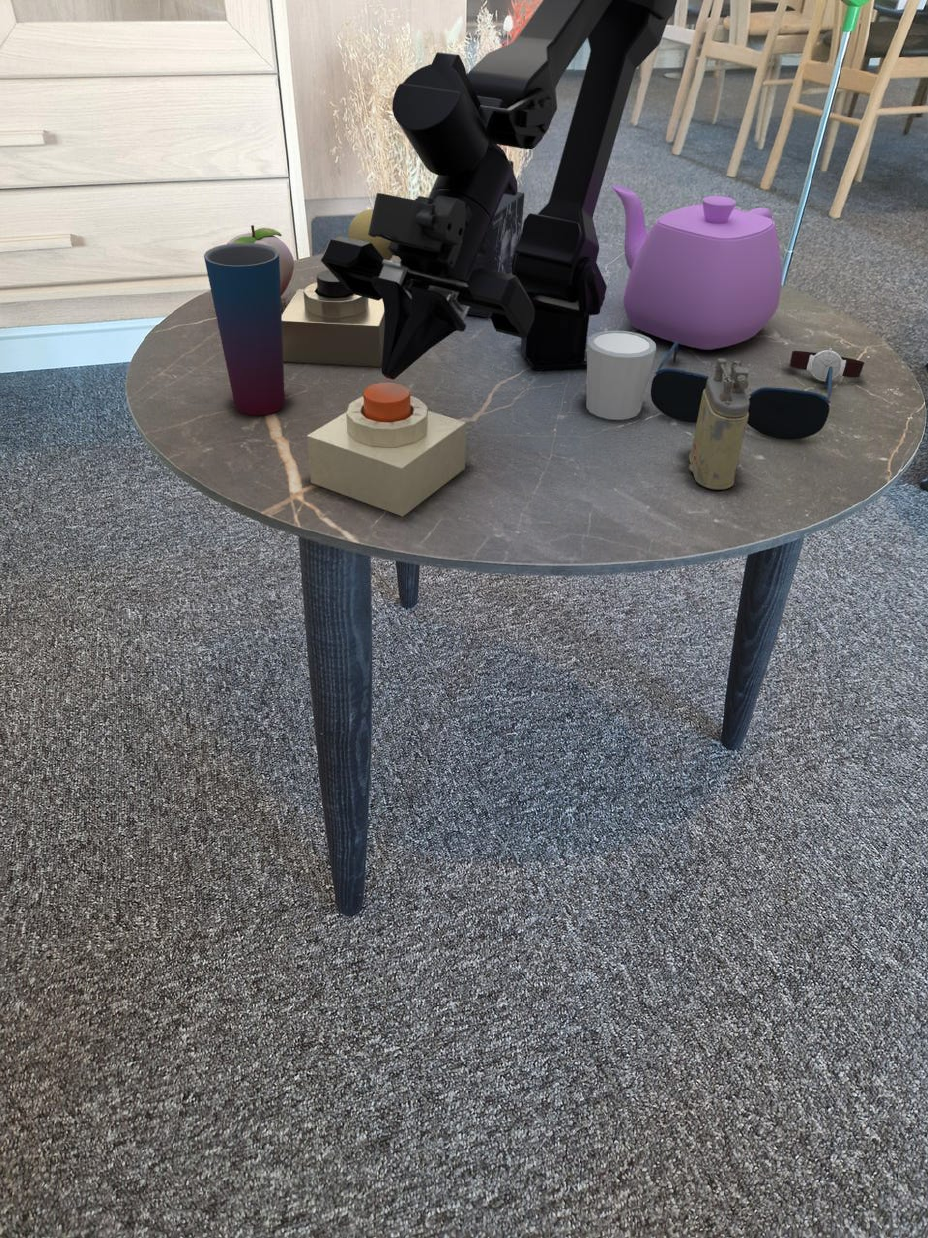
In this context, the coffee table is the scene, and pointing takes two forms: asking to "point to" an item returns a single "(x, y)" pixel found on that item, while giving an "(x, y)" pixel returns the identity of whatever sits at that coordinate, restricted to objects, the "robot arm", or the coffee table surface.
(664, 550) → the coffee table surface
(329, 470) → the beige button housing
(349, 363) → the beige button base
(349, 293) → the button
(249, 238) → the decorative fruit
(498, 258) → the small box
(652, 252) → the teapot
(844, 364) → the watch
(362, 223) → the light bulb
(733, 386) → the lighter
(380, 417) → the power button
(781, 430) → the sunglasses
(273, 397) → the cup
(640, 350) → the white tapered cylinder
